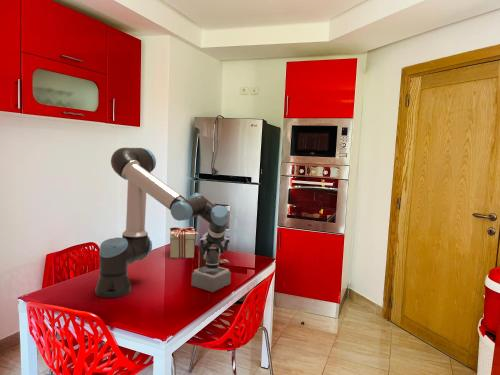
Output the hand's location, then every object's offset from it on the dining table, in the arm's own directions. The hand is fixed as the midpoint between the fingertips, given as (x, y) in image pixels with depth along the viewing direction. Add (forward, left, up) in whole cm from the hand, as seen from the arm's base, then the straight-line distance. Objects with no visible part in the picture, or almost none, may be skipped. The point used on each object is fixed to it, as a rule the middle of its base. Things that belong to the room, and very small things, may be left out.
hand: (211, 256), depth 184 cm
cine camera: (+13, +13, -13) cm, 23 cm away
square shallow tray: (-3, -2, -13) cm, 13 cm away
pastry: (+27, +16, -14) cm, 35 cm away
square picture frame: (-3, -2, -7) cm, 8 cm away
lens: (-3, -3, -4) cm, 5 cm away
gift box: (+24, +42, -13) cm, 50 cm away
